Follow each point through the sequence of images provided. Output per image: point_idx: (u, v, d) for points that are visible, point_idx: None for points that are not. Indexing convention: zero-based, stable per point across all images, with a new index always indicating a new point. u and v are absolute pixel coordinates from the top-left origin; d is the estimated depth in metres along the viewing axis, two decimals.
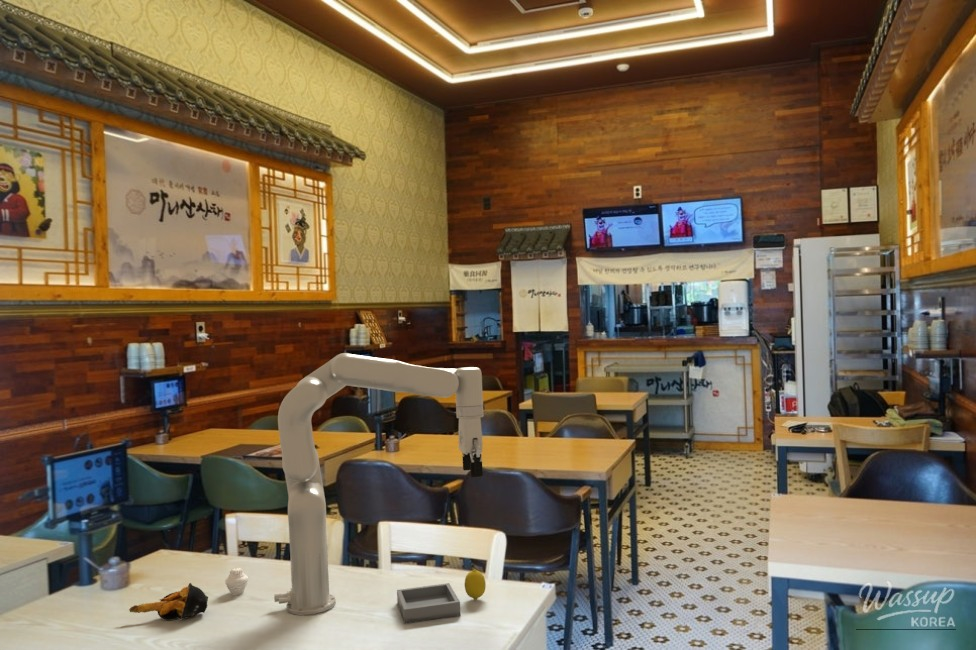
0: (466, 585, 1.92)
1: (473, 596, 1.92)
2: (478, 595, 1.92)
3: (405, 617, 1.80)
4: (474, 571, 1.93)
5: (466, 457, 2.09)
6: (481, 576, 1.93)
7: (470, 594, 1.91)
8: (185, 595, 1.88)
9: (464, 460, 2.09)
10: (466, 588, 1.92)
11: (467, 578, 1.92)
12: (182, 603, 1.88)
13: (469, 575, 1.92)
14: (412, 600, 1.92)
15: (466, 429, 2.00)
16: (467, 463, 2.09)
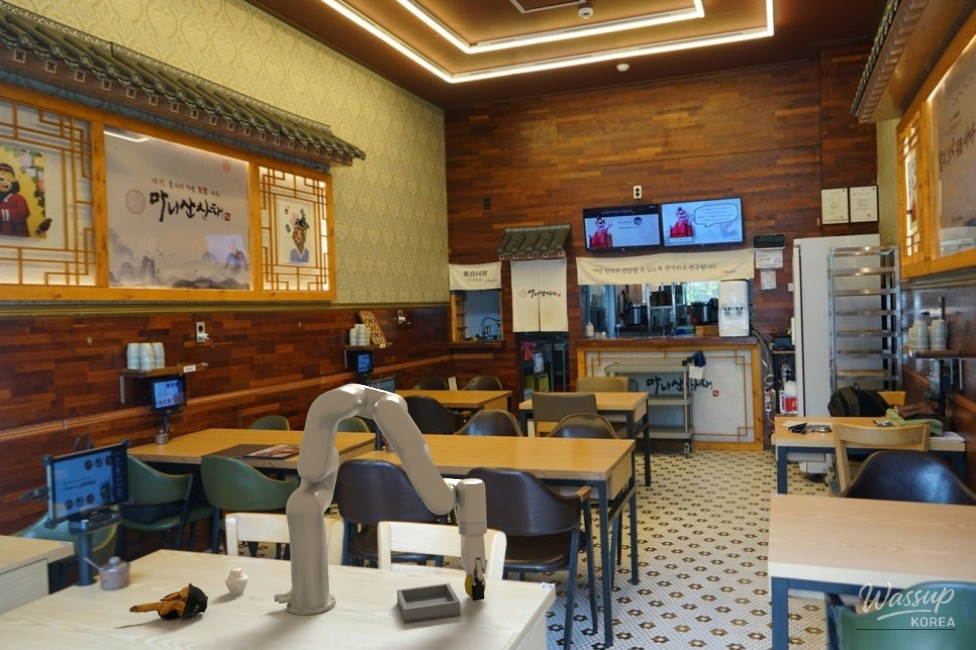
0: (466, 585, 1.92)
1: None
2: None
3: (405, 617, 1.80)
4: (474, 571, 1.93)
5: None
6: None
7: (470, 594, 1.91)
8: (185, 595, 1.88)
9: None
10: (466, 588, 1.92)
11: (467, 578, 1.92)
12: (182, 603, 1.88)
13: (469, 575, 1.92)
14: (412, 600, 1.92)
15: (469, 548, 1.89)
16: None
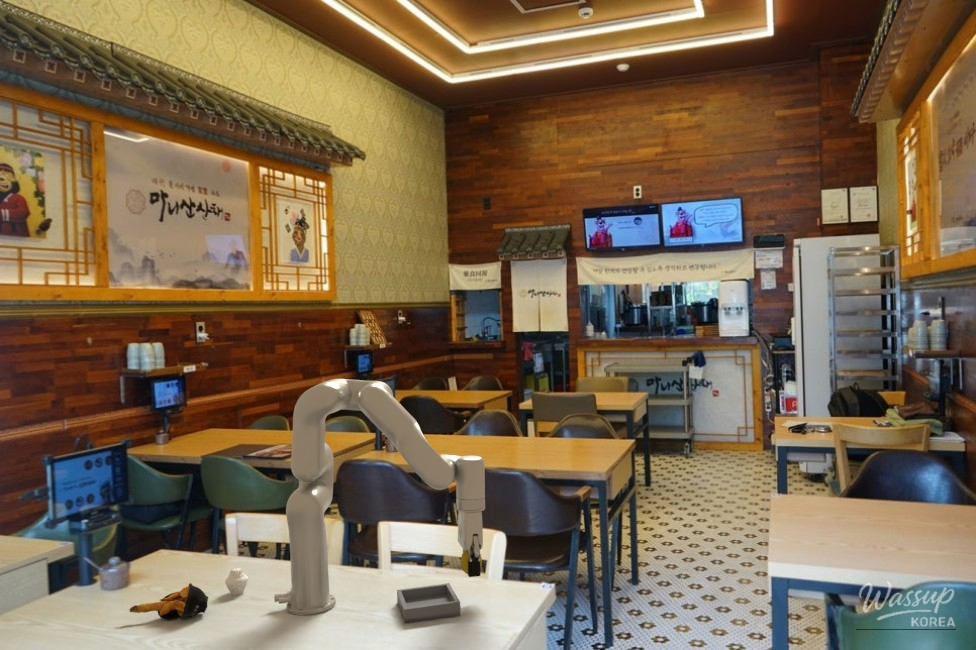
0: (462, 561, 1.92)
1: None
2: None
3: (405, 617, 1.80)
4: (471, 548, 1.93)
5: None
6: None
7: (467, 570, 1.91)
8: (185, 595, 1.88)
9: None
10: (462, 564, 1.92)
11: (464, 554, 1.92)
12: (182, 603, 1.88)
13: (466, 551, 1.92)
14: (412, 600, 1.92)
15: (466, 524, 1.89)
16: None
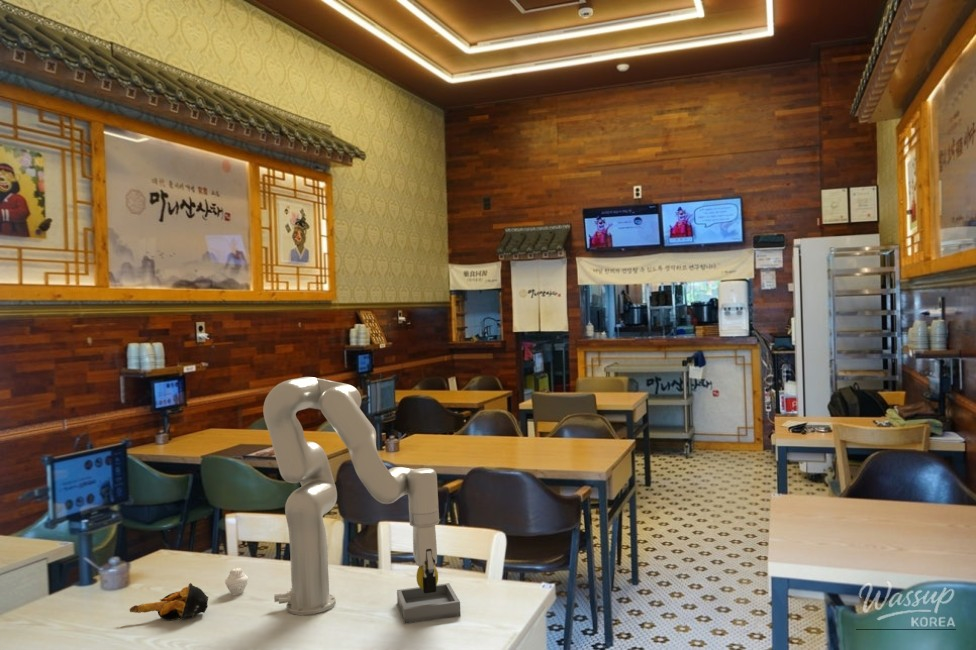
0: (418, 577, 1.87)
1: None
2: None
3: (405, 617, 1.80)
4: (426, 563, 1.88)
5: None
6: None
7: (422, 586, 1.86)
8: (185, 595, 1.88)
9: None
10: (418, 580, 1.87)
11: (419, 570, 1.87)
12: (182, 603, 1.88)
13: (421, 567, 1.87)
14: (412, 600, 1.92)
15: (419, 539, 1.83)
16: None
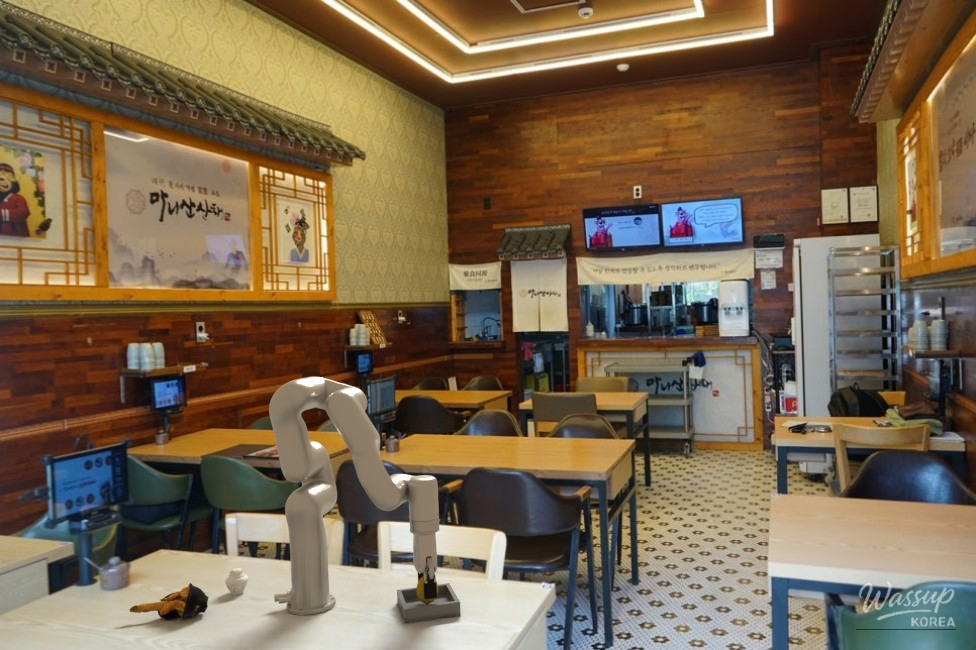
0: (418, 590, 1.87)
1: (424, 601, 1.86)
2: (429, 601, 1.86)
3: (405, 617, 1.80)
4: None
5: None
6: None
7: (422, 599, 1.86)
8: (185, 595, 1.88)
9: (419, 575, 1.92)
10: (418, 593, 1.87)
11: (419, 583, 1.87)
12: (182, 603, 1.88)
13: (421, 580, 1.87)
14: (412, 600, 1.92)
15: (419, 547, 1.83)
16: None
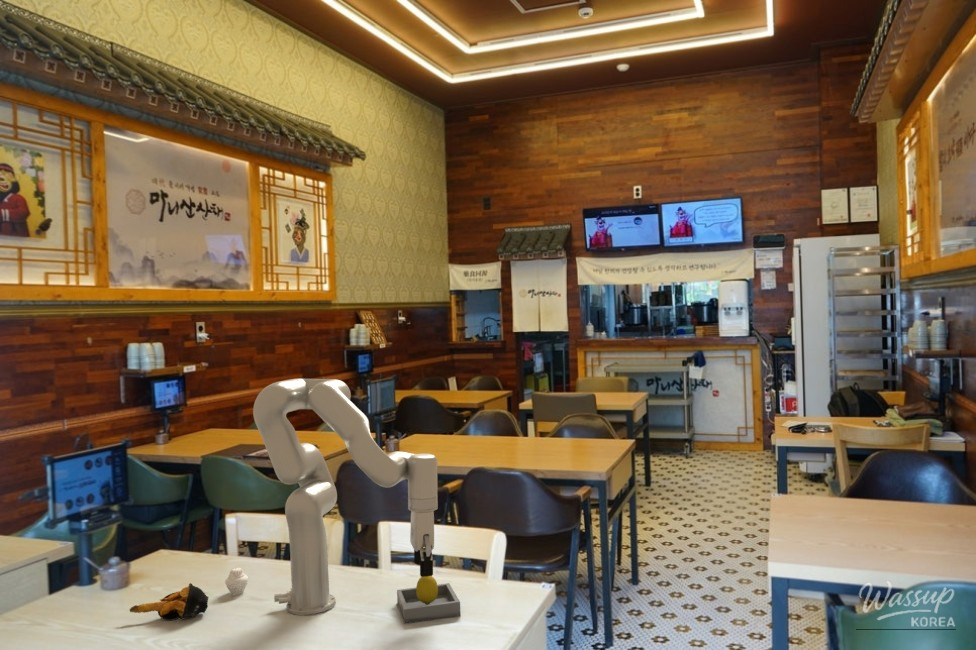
0: (417, 590, 1.87)
1: (424, 601, 1.87)
2: (429, 601, 1.86)
3: (405, 617, 1.80)
4: (426, 576, 1.88)
5: (418, 550, 1.93)
6: (433, 581, 1.87)
7: (422, 599, 1.86)
8: (185, 595, 1.88)
9: (416, 553, 1.93)
10: (417, 593, 1.87)
11: (419, 583, 1.87)
12: (182, 603, 1.88)
13: (421, 580, 1.87)
14: (412, 600, 1.92)
15: (417, 524, 1.84)
16: (419, 556, 1.93)
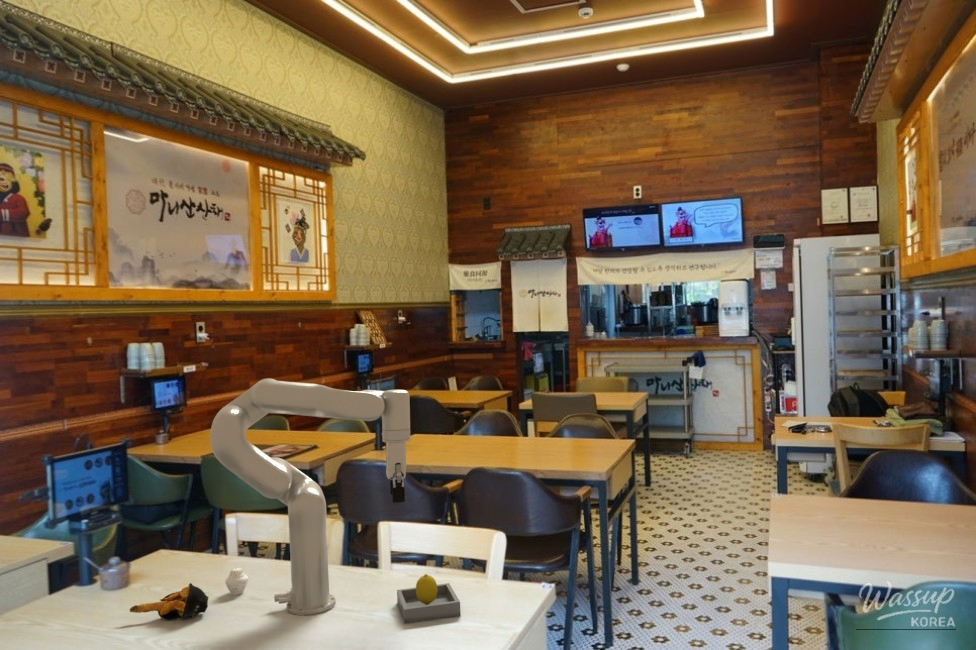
0: (417, 590, 1.87)
1: (424, 602, 1.87)
2: (429, 601, 1.86)
3: (405, 617, 1.80)
4: (425, 576, 1.88)
5: None
6: (432, 581, 1.87)
7: (421, 599, 1.86)
8: (185, 595, 1.88)
9: (391, 484, 2.05)
10: (417, 593, 1.87)
11: (418, 583, 1.87)
12: (182, 603, 1.88)
13: (420, 580, 1.87)
14: (412, 600, 1.92)
15: (389, 453, 1.96)
16: None
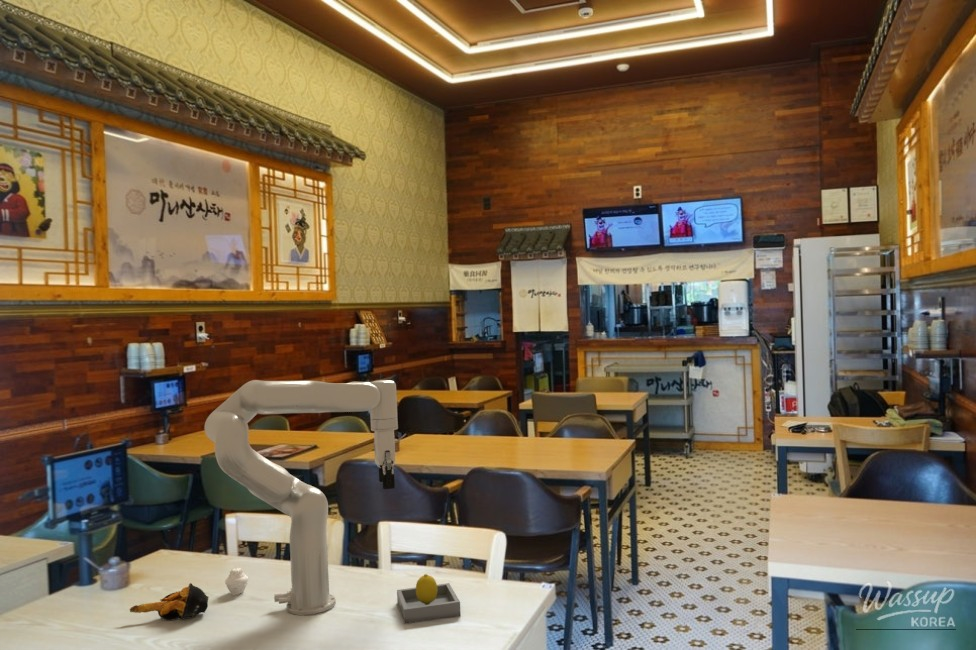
0: (417, 590, 1.87)
1: (424, 601, 1.87)
2: (429, 600, 1.86)
3: (405, 617, 1.80)
4: (425, 576, 1.88)
5: (382, 469, 2.11)
6: (432, 581, 1.87)
7: (421, 599, 1.86)
8: (185, 595, 1.88)
9: (380, 472, 2.11)
10: (417, 593, 1.87)
11: (418, 583, 1.87)
12: (182, 603, 1.88)
13: (420, 580, 1.87)
14: (412, 600, 1.92)
15: (378, 442, 2.02)
16: None
